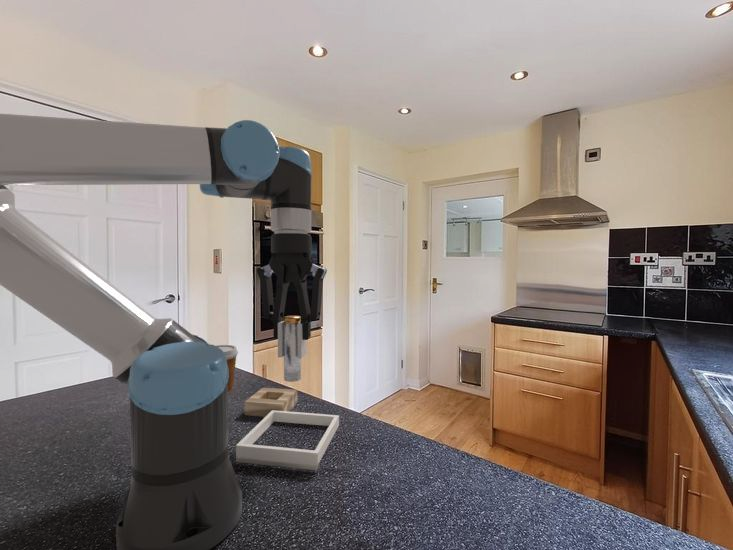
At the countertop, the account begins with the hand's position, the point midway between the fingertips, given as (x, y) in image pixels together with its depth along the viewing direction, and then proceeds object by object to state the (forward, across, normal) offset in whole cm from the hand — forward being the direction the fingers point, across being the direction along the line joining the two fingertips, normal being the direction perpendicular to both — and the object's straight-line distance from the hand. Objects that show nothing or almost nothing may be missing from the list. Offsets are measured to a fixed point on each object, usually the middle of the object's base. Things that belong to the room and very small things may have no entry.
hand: (292, 355), depth 69 cm
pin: (+5, 0, 0) cm, 5 cm away
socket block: (+17, +10, -13) cm, 24 cm away
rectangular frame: (+17, 0, 0) cm, 17 cm away
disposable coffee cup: (+18, +29, -22) cm, 40 cm away
